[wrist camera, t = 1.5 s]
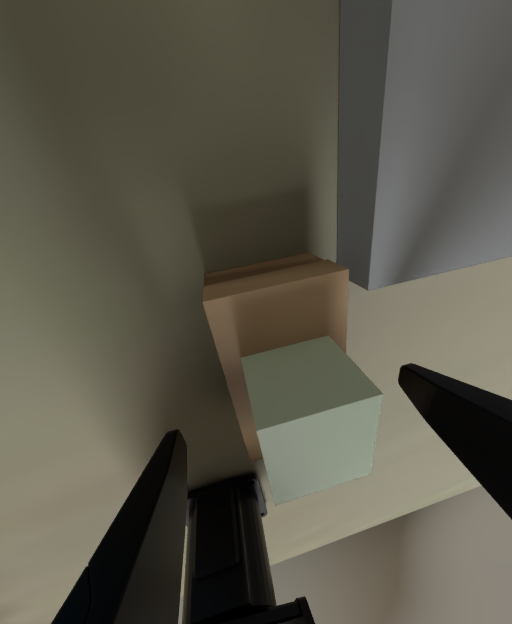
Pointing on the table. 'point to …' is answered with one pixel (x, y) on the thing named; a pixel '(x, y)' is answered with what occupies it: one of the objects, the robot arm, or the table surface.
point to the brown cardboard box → (272, 317)
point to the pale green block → (312, 416)
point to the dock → (423, 137)
